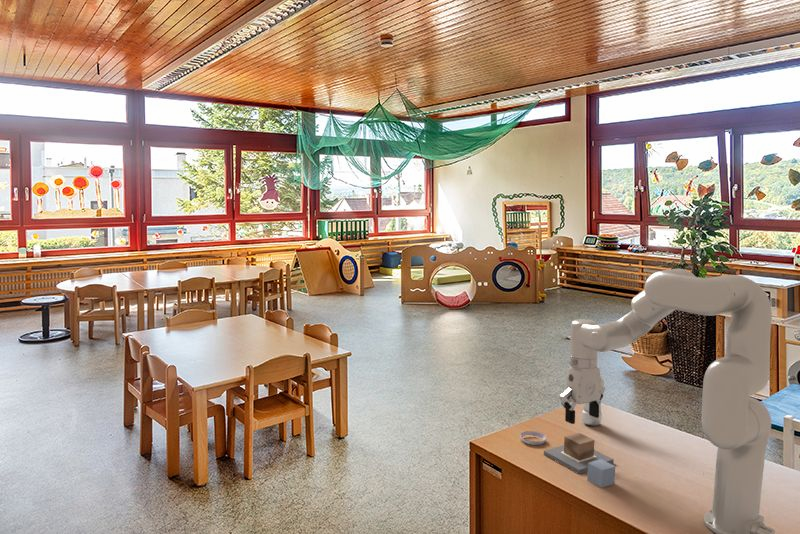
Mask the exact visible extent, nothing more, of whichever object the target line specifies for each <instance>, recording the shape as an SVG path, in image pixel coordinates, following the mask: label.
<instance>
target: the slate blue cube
mask: <svg viewBox="0 0 800 534" xmlns="http://www.w3.org/2000/svg"><path fill="white" fill-rule="evenodd" d="M586 477H587V478H586V480H587V481H589V482H590V483H592V484H593V485H595V486H597V487H599V488H604V487H608V486H612V485H614V484H615V481H616V480H615V479H616V478H615V477H616V465H613V463H612V464H610V463H608V462H606V461H604V460H602V459H599V460H596V461H593V462H589V463H588V471H587V475H586Z"/></svg>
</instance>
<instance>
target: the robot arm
mask: <svg viewBox="0 0 800 534" xmlns="http://www.w3.org/2000/svg"><path fill="white" fill-rule="evenodd" d="M630 304H631V305H630V306H631V311H629V312H628V313H626V314H625V315H623V316H622V317H621V318H620V319H618V320H615V321H610V322H605V323H600V324H598V323H597V321H595V320H592V319H588V318H587V319H583V318H578V319H577V318H576V319H574V320H572V321H571V324H570V339H569V340H570V341H569V342H570V346H569V349H570V351H569V361H568V364H569V367H568V369H567V370H568V371H567V375H566V376H567V377H566V383H565V384H566V385H565V390H564V392H563V393H561V394H560V395H559V397H558V398H559V400H560V404H561V406H563V408H564V409H565V411H564V412H565V413H564V414H565V417H564V418H565V420H564V421H565V422H566V423H568V424H571V425H574V424H576V410H575V407H577V405H582V404H583V405H584V403H588V402H590V403H589V415H590V416H593V417H596V418H598V417H599V404H600V403H601V402H602V399H603V398H604V394H605V391H606V388H605V386H604V387H603V386H601V378H602V377H601V378H600V376H601V370H600V371H599V365H598V352H599V353H605V352H610V351H612V350H617V349H621V348H625V347H628V346H629V345H631V344H634V343H635V342H636V341H638V340H639V339H640V338H642V337H644V336H645V335H646V334H647V333H649V332H650V331H651V330H653V327H655V325H656V324H657V323H659V322H660V321H661V320H663V319H664V318H665V317H667V316H668V315H670V314H672V313H673V312H674V311H680V312H686V313H690V314H695V315H700V316H712V317H713V316H718V315H723V314H727V313H730V314H731V318H730V321H729V324H728V328H727V331H726V332H727V333H726V348H725V353H724V356H723V357H720V358H718V359H715V360H713V361H712V362H711V363H710V364H709V365H708V367H707V369H706V371H705V373H704V375H703V381H702V382H703V383H702V395H701V396H702V399H701V427H702V431H703V433H704V436H705V438H707V440H708V441H709V442H710V443H711V444H712V445H713V446H714V447H716V448H717V449H716V450H717V451H716V461H715V473H714V487H713V494H712V495H713V497H712V506H711V507H712V509H711V510H709V511H707V512H705V513H704V517H703V522H704V524H705V526H706V527H707V528H708V529H709V530H710V531H711V532H713V533H715V534H776V533H775V532H776V529H775V528H772V527H770V526H767V525H766V524H765V523H764V521H765V517H764V516H763V515H760V510H761V509H760V508H761V501H762V500H761V499H762V491H763V490H762V488H763V487H762V486H763V478H764V477H763V476H764V469H765V468H764V467H765V458H766V452H767V446H768V443H769V440H770V439H769V438H770V435H771V431H772V430H771V429H772V418H771V414H770V411H769V409H768V408H767V407H766V405H765V404H764V403H762V402H761V401H760V400H758V399H756V398H755V397H754V398H753V397H751V396H752V395H755V394H757V393H759V392H762V390H764V388H766V386H767V384H768V382H769V378H770V377H769V375H770V374H769V373H770V359H771V358H770V357H771V332H772V331H771V330H772V318H773V313H772V305H771V300H770V298H769V296H768V295H767V293H766V291H765V290H764V289H763V288H762V286H760V285H759V284H758V283H757V282H755V281H754V280H752V279H750V278H748V277H745V276H744V275H743V276H742V275H737V274H724V275H720V276H714V277H700V276H699V277H698V276H696V275H695V274H694V273H693V272H691V271H690V270H687V269H684V268H671V269H665V270H663V269H662V270H659V271H655V272H654V273H652V274H651V275H650V276H648V278H647V279H646V281H645V282H644V289H643V290H641V292H639V293H638V294H635V296H634V297H633V298H632V299H631V303H630ZM601 404H602V403H601Z"/></svg>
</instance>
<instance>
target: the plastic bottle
mask: <svg viewBox="0 0 800 534" xmlns="http://www.w3.org/2000/svg"><path fill="white" fill-rule="evenodd" d="M598 367H599V366H598ZM599 371H600V372H601V367H599ZM600 378H601V386H603V387H605V383H604V380H603V378H602V376H601V375H600ZM589 403H590V402H588V403H584V404H583V407H582V410H581V411H582V412H581V416H580V417H581V421H582V422H583V424H585V425H588V426H599V425H600V424H601V422H602V420H603V413H602V403H600V404H599V417H598V418H596V417H593V416H590V415H589Z"/></svg>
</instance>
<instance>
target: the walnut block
mask: <svg viewBox="0 0 800 534" xmlns="http://www.w3.org/2000/svg"><path fill="white" fill-rule="evenodd" d="M563 445H564V453H565V454H567V455H569V456H571V457H573V458H575V459H577V460H583V459H586V458H589V457H593V456H594V450H595V439H593V438H592V437H589V436H587V435H585V434H583V433H580V432H577V433H572V434H570V435H566V436H564V438H563Z"/></svg>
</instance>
